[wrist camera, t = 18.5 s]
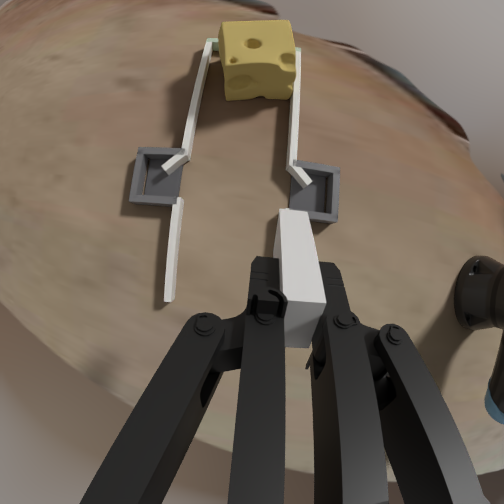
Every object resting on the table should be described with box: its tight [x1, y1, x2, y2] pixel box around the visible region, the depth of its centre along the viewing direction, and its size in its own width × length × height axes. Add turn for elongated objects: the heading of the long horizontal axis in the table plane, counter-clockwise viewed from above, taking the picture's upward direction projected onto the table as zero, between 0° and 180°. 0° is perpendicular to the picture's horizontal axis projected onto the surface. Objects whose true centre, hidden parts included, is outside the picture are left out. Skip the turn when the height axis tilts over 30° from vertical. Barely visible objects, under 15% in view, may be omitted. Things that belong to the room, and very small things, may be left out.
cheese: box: [218, 20, 296, 101], centre depth 34 cm, size 10×11×10 cm
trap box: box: [129, 38, 340, 302], centre depth 37 cm, size 29×43×2 cm
